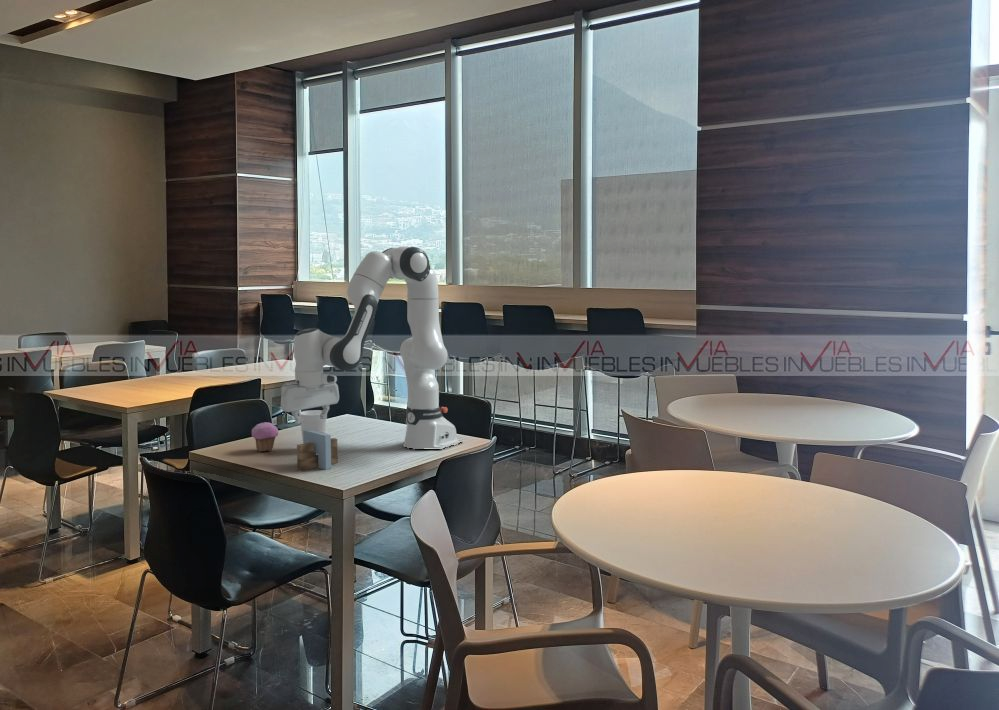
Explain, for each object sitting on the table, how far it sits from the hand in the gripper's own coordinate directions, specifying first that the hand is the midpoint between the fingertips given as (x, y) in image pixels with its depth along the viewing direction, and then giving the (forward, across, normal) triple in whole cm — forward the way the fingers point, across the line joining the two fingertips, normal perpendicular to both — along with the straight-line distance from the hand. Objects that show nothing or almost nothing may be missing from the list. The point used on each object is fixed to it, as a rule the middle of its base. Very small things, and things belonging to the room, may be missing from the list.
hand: (311, 421), depth 252 cm
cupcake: (+14, -1, +27) cm, 31 cm away
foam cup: (+14, +12, +17) cm, 26 cm away
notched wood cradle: (+14, -1, -4) cm, 15 cm away
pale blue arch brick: (+14, -1, -3) cm, 14 cm away
